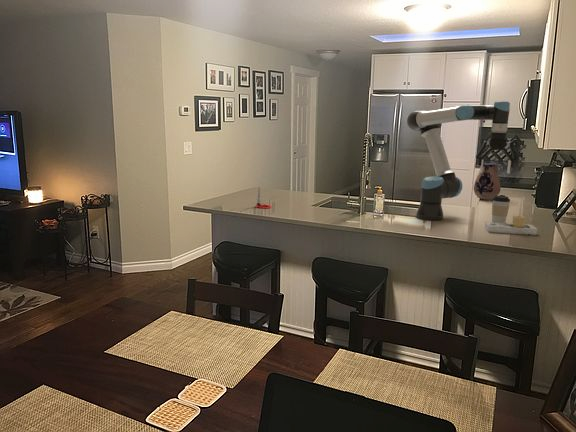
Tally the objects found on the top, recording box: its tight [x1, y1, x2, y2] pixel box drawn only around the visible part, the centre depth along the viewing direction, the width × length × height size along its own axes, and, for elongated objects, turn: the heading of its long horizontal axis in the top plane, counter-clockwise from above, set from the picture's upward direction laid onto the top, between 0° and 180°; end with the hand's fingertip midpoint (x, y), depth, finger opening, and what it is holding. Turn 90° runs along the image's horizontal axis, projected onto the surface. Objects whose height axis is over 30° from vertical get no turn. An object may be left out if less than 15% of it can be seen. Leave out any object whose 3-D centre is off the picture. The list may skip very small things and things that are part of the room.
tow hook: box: [254, 186, 272, 210], centre depth 297 cm, size 8×13×9 cm
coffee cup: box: [491, 194, 511, 223], centre depth 267 cm, size 9×9×15 cm
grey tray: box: [484, 221, 538, 236], centre depth 249 cm, size 23×10×3 cm, turn 78°
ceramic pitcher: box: [473, 162, 501, 201], centre depth 340 cm, size 18×21×25 cm
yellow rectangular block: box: [511, 215, 526, 228], centre depth 247 cm, size 4×4×8 cm
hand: (494, 172), depth 254 cm, fingers open, 13 cm apart
